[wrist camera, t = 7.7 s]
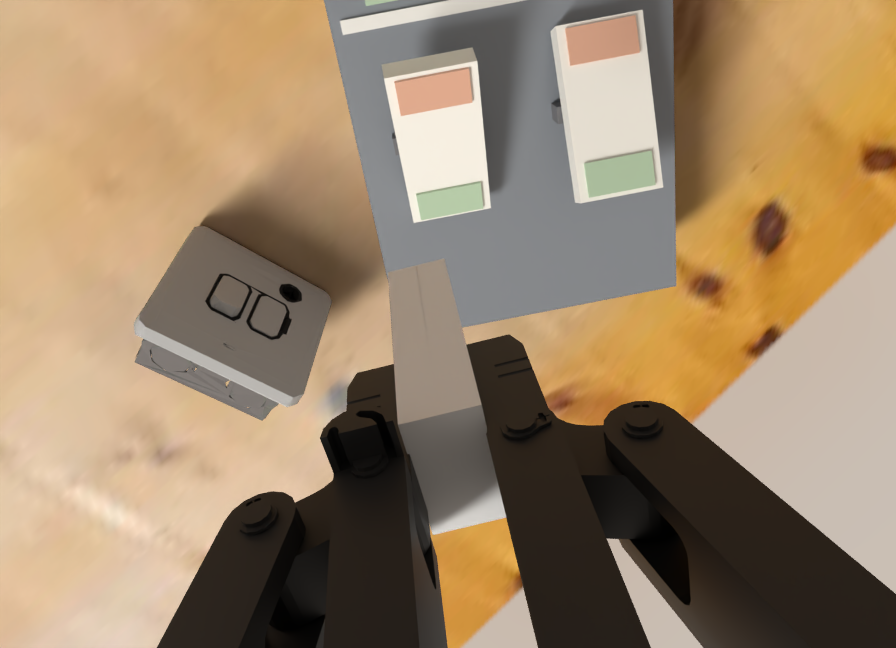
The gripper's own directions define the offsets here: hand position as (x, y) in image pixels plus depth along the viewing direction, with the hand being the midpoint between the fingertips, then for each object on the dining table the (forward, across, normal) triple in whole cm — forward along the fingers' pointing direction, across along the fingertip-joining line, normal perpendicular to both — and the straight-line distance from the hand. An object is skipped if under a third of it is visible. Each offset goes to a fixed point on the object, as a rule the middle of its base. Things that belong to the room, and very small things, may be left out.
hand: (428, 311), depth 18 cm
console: (+24, +6, 0) cm, 25 cm away
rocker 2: (+16, +10, 0) cm, 19 cm away
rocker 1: (+16, +2, 0) cm, 16 cm away
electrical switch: (+24, -12, -8) cm, 28 cm away
